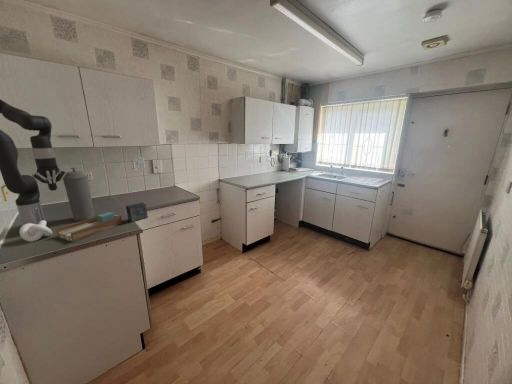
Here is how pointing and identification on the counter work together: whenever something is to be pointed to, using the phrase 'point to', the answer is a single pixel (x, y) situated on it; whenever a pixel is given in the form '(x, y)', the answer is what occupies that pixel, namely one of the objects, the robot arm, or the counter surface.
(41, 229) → the white knot sculpture
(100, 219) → the block
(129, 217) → the small box
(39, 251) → the counter surface
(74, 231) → the track
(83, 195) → the canister
